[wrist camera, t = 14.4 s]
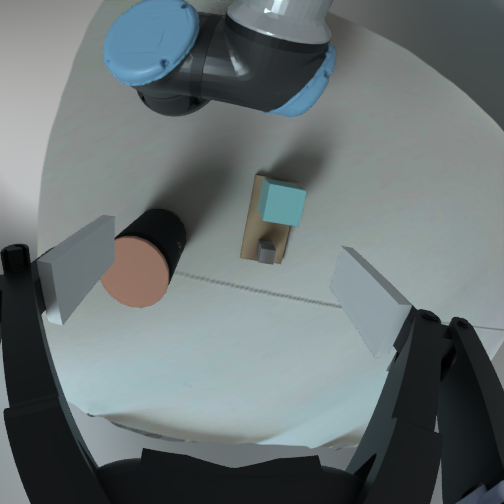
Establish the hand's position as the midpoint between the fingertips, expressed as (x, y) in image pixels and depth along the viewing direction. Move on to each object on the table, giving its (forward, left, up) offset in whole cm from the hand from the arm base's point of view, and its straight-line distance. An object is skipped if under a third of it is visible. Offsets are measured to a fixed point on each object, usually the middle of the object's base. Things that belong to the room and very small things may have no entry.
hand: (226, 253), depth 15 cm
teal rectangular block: (+9, -1, -34) cm, 35 cm away
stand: (+9, -6, -36) cm, 38 cm away
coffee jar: (-11, -12, -37) cm, 40 cm away
